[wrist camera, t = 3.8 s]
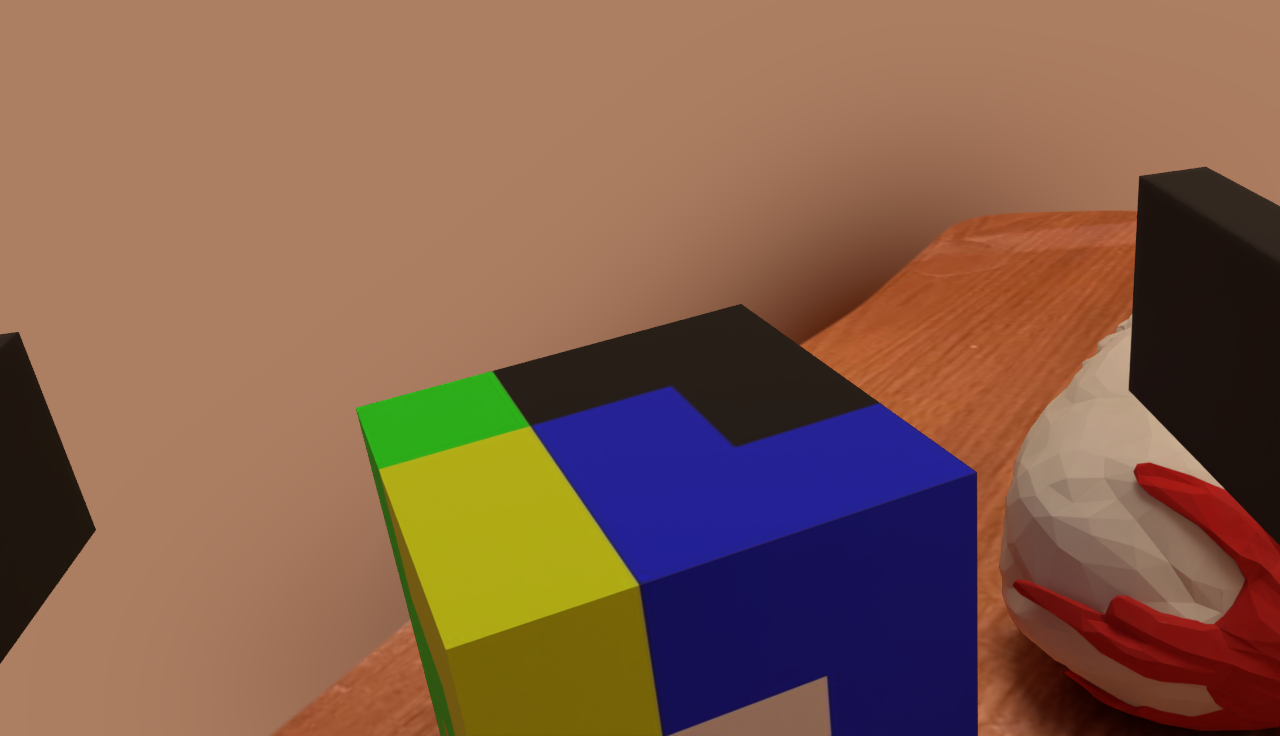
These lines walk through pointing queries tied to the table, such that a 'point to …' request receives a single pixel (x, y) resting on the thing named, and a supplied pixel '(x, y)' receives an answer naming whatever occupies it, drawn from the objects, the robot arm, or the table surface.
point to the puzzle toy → (680, 544)
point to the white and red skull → (1140, 561)
